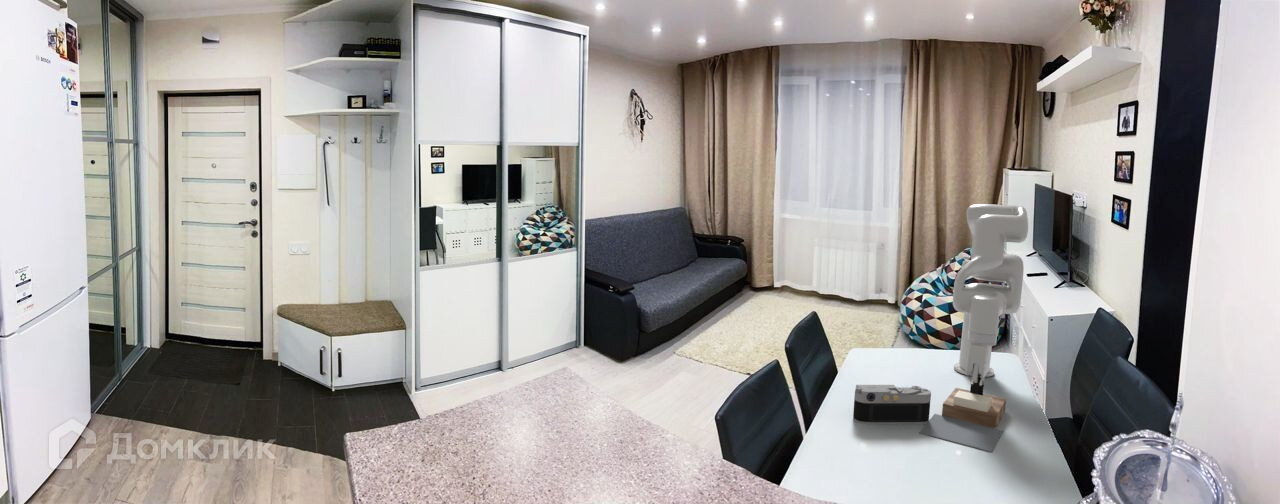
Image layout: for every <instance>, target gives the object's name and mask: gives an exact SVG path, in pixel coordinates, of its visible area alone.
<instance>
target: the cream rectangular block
mask: <svg viewBox="0 0 1280 504" xmlns="http://www.w3.org/2000/svg"><path fill="white" fill-rule="evenodd" d="M953 405H958V406H962V407H966V408H971V409H975V410H979V411H984V412H988V411H989V409H990V407H991V406H992V397H987V396H982V395H978V394H973V393H969V392H964V391H960V390H959V391H958V392H957V393H956V394H955V396H954V402H953Z"/></svg>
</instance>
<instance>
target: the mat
mask: <svg viewBox="0 0 1280 504" xmlns="http://www.w3.org/2000/svg"><path fill="white" fill-rule="evenodd" d="M1003 431H1004V430H1003V429H998V428H991V427H987V426H983V425H979V424H975V423H971V422H967V421H962V420H958V419H954V418H950V417H946V416H942V414H937V413H934V414H932V416H931V418H929V421H928V422H927V423H926V424H924V426H923V427H922V429H921V430H920V431H919V432H918V434H920V435H925V436H929V437H932V438H936V439H940V440H943V441H946V442H947V441H948V442H951V443H955V444H959V445H962V446H967V447H969V448H973V449H977V450H980V451H984V452H989V453H992V452H993V450H994V449H995V448H996V445H997V444H998V441H999V439H1000V438H1001V435H1002V434H1003Z"/></svg>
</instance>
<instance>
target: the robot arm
mask: <svg viewBox="0 0 1280 504" xmlns="http://www.w3.org/2000/svg"><path fill="white" fill-rule="evenodd" d="M966 221H967V226H968V228H969V232H970V234H971V239H972V243H971V251H970V252H971V255H970V260H969V261H968V262H966V263H965V264H964V265H963V266H962V267H961V268H960V269H959V270H958V272H957V274H956V276H955V278H954V284H953V294H952V306H953V308H954V310H955V311H957V312H958V313H963V318H962V319H963V320H962V331H961V340H960V341H961V342H960V348H959V349H960V350H959V351H960V352H959V360H958V362H956V363H954V365H953V369H954V370H955V372H957V373H959V374H963V375H964V376H965V375H966V376H969V377H971V381H970V382H971V383H970V390H969V391H970V393H973V394H978V395H982V396H983V394H984V388H985V387H984V386H985V384H984V383H985V378H989V377H993V376H994V374H995V371H994V369H993V368H992V367H990V366H991V357H992V348H993V347H994V346H996V345H997V341H998V340H997V337H998V330H999V320H1000V316H1001V315H1002V314H1006V315H1014V314H1017V313H1018V312H1019V310H1020V306H1021V302H1022V301H1021V300H1022V290H1023V280H1024V271H1025V270H1024V266H1025V265H1024V261H1023V258H1022V257H1021V256H1019V255H1016V254H1009V253H1005V243H1015V244H1019V243H1024V242H1025V241H1026V239H1027V237H1028V233H1029V218H1028V212H1027V210H1026V208H1025V207H1023V206H1021V205H1012V204H1009V205H1008V204H994V203H993V204H992V203H991V204H990V203H978V204H972V205H969V207H968V208H967V209H966ZM971 276H972V278H974V279H976V280H980V281H989V282H1001V283H1005V284H1006V285H1003V284H994V283H981V282H972V283H968V284H967V285H966V286H965V282H966V280H967V279H968V278H970V277H971Z"/></svg>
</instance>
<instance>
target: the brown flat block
mask: <svg viewBox="0 0 1280 504" xmlns="http://www.w3.org/2000/svg"><path fill="white" fill-rule="evenodd" d="M959 390H960V391H964V392H969V393H970V390H968V389H963V388H959V387H955V388H954V389H953V390H952V392H951V393H950V395H949V396H948V397H946V399H945V400H944V401H943V403H942V408H941V409H942V410H941V415H942V416H946V417H950V418H954V419H958V420H962V421H967V422H971V423H975V424H979V425H983V426H987V427H991V428H995V429H997V427H998V424H999V423H1000V421H1001V419H1002V417H1003V416H1004V414H1005V412H1006V407H1007V406H1006V405H1007V398H1005V397H1001V396H995V395H991V394H987V393H983V396H987V397H992V406H991V407H990V409H989V411H988V412H984V411H979V410H975V409H971V408H966V407H962V406H958V405H953V402H954V396H955V394H956V393H957V392H958V391H959Z"/></svg>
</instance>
